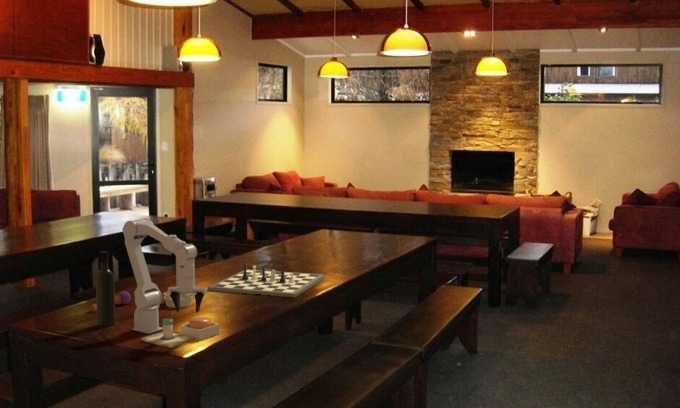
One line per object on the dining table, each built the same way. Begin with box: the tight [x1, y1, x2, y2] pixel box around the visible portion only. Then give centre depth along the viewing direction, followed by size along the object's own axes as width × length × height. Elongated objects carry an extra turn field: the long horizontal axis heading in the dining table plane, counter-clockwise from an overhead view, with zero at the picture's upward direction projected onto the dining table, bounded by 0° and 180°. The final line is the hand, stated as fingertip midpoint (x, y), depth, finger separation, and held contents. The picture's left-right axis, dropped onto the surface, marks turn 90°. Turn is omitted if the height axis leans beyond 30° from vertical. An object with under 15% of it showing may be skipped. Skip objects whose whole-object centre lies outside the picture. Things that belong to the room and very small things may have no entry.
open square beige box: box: [180, 321, 221, 341], centre depth 285 cm, size 10×10×4 cm
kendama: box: [89, 290, 132, 313], centre depth 327 cm, size 6×6×20 cm
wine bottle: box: [95, 250, 116, 328], centre depth 297 cm, size 6×6×30 cm
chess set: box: [207, 261, 325, 298], centre depth 373 cm, size 45×45×11 cm
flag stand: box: [163, 257, 194, 309], centre depth 330 cm, size 13×13×30 cm
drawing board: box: [140, 331, 195, 349], centre depth 278 cm, size 16×12×1 cm
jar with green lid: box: [162, 317, 174, 339], centre depth 278 cm, size 4×4×7 cm
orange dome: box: [188, 316, 212, 329], centre depth 285 cm, size 8×8×4 cm
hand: (187, 311), depth 281 cm, fingers open, 7 cm apart
